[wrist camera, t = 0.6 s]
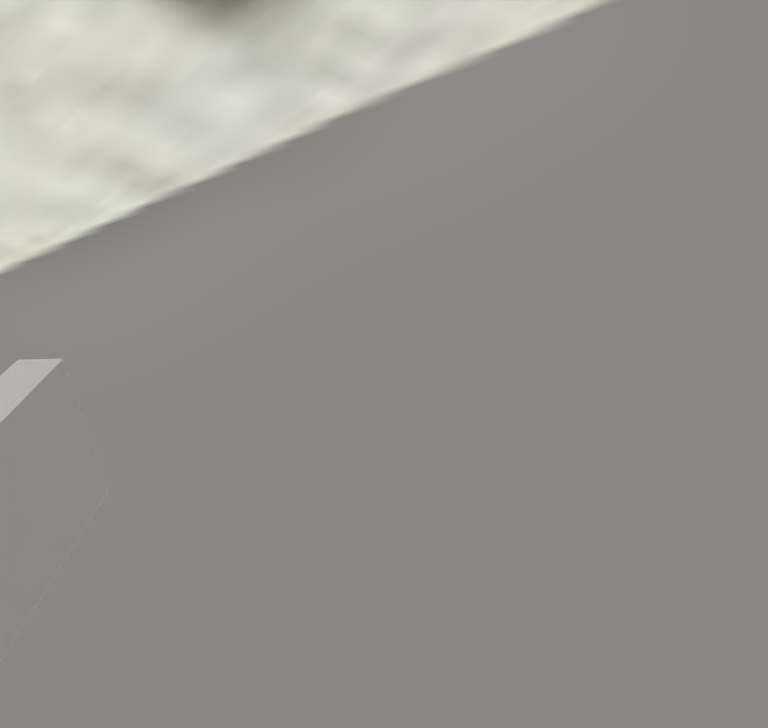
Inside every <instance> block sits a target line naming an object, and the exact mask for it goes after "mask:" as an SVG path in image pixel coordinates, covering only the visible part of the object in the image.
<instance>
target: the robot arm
mask: <svg viewBox="0 0 768 728" xmlns="http://www.w3.org/2000/svg"><path fill="white" fill-rule="evenodd" d="M108 492H109V489H108V486H107V483H106V481H105V478H104V475H103V472H102V469H101V466H100V463H99V460H98V458H97V455H96V452H95V449H94V446H93V443H92V440H91V438H90V435H89V432H88V429H87V426H86V424H85V421H84V418H83V415H82V412H81V409H80V406H79V403H78V401H77V398H76V395H75V392H74V389H73V386H72V383H71V380H70V378H69V375H68V372H67V369H66V366H65V363H64V361H63V359H38V360H17V361H16V362H15V363H14V364H13V365H12V366H11V367H10V368H8V369H7V370H6V371H5V372H4V373H3V374H2V375H1V376H0V662H1V661H2V659H3V657H4V656H5V654H6V653H7V651H8V650H9V648H10V646H11V645H12V643H13V641H14V640H15V639H16V637H17V635H18V634H19V632H20V631H21V629H22V627H23V626H24V624H25V623H26V621H27V620H28V618H29V617H30V615H31V613H32V612H33V610H34V609H35V607H36V606H37V604H38V602H39V601H40V599H41V597H42V596H43V595H44V593H45V591H46V589H47V588H48V586H49V585H50V583H51V582H52V580H53V579H54V577H55V575H56V574H57V572H58V571H59V569H60V568H61V566H62V565H63V563H64V561H65V560H66V558H67V557H68V555H69V554H70V552H71V550H72V549H73V547H74V546H75V544H76V543H77V541H78V539H79V537H80V536H81V535H82V533H83V532H84V530H85V528H86V527H87V525H88V524H89V522H90V521H91V519H92V517H93V516H94V514H95V513H96V511H97V509H98V508H99V506H100V504H101V503H102V502H103V500H104V498H105V497H106V495H107V494H108Z"/></svg>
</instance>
